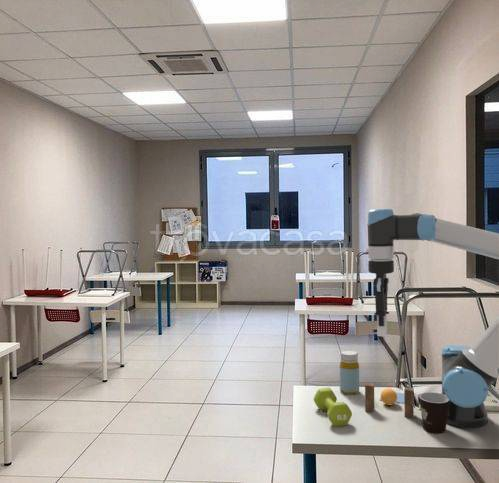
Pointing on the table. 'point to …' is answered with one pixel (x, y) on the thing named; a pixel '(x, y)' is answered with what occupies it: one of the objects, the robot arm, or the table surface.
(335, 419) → the dumbbell
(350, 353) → the bottle
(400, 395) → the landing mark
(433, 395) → the coffee mug
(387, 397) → the ball
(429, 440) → the table surface
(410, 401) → the post near
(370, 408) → the post far
